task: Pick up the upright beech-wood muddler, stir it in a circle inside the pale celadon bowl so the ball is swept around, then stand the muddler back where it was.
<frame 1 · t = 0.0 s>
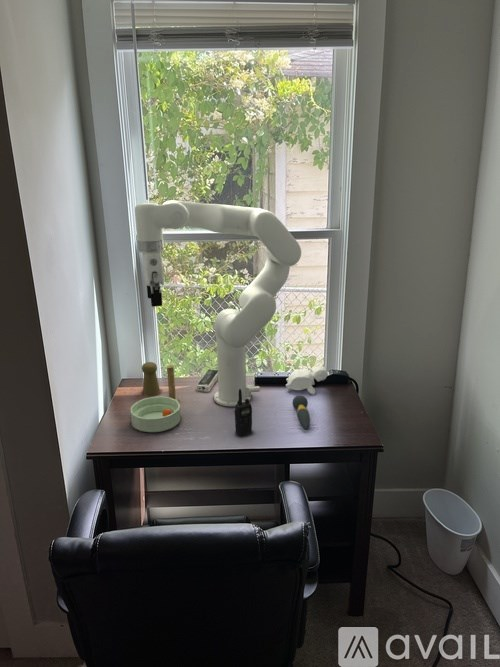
hand: (154, 301, 158), 37 cm above the table, tool pointing down, fingers open, 9 cm apart
dark grey microphone: (303, 417, 163), on the table
cork: (151, 392, 182), on the table
two-way radio: (242, 433, 155), on the table
multiport hub: (208, 383, 189), on the table
ball: (167, 413, 162), point 2 cm above the table, touching bowl
muddler: (172, 401, 175), on the table
white animal figurine: (306, 389, 183), on the table
bowl: (156, 421, 162), on the table
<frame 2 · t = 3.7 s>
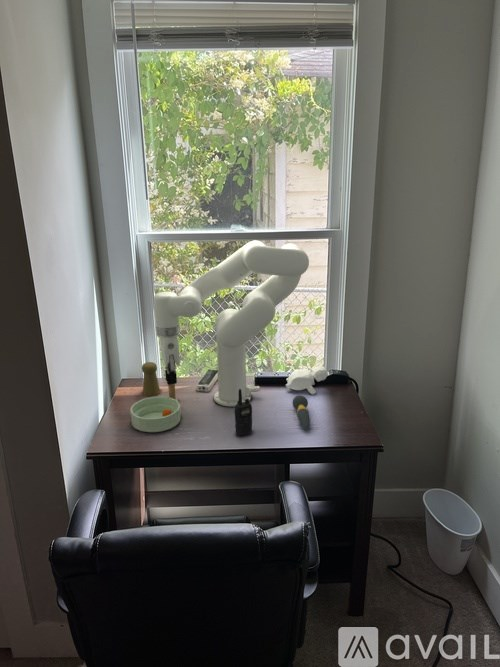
hand: (171, 381, 172), 8 cm above the table, tool pointing down, fingers closed on muddler, 2 cm apart
muddler: (172, 401, 175), on the table, touching gripper
everything else where it was.
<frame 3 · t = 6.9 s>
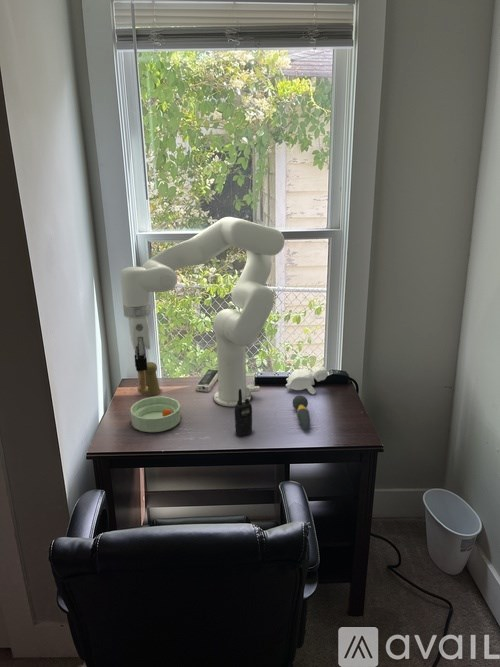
hand: (141, 368, 155), 19 cm above the table, tool pointing down, fingers closed on muddler
muddler: (142, 390, 157), point 11 cm above the table, touching gripper
everything else where it was.
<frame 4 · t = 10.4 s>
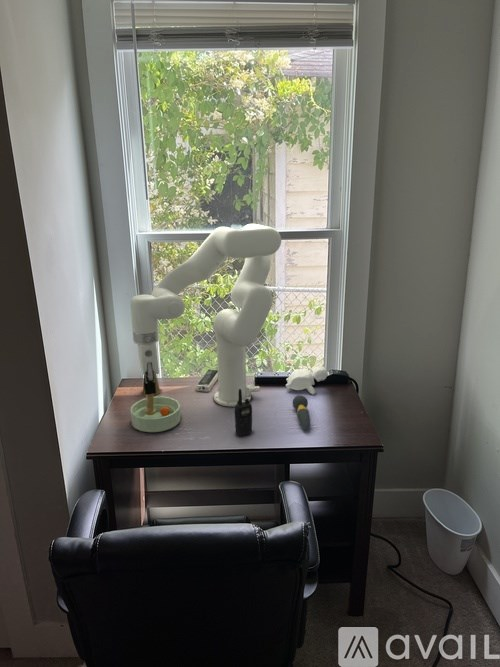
hand: (150, 391, 160), 10 cm above the table, tool pointing down, fingers closed on muddler, 2 cm apart
ball: (165, 411, 163), point 2 cm above the table, tilted 33°, touching bowl
muddler: (150, 413, 162), point 2 cm above the table, touching gripper
everything else where it was.
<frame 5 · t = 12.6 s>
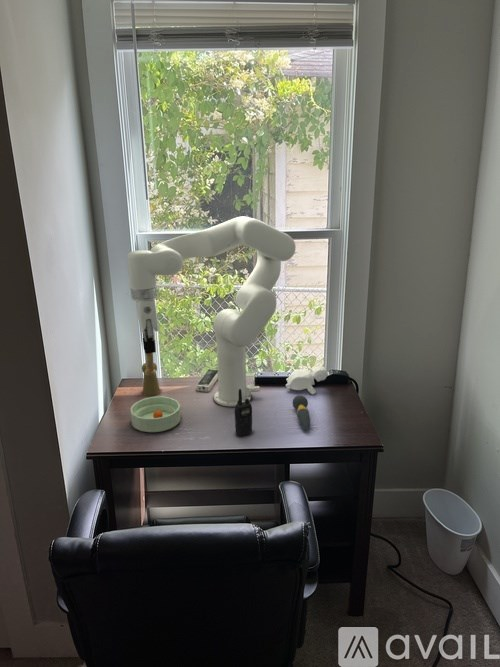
hand: (149, 350, 157), 23 cm above the table, tool pointing down, fingers closed on muddler
ball: (158, 415, 161), point 2 cm above the table, tilted 119°, touching bowl
muddler: (150, 373, 160), point 15 cm above the table, touching gripper
everything else where it was.
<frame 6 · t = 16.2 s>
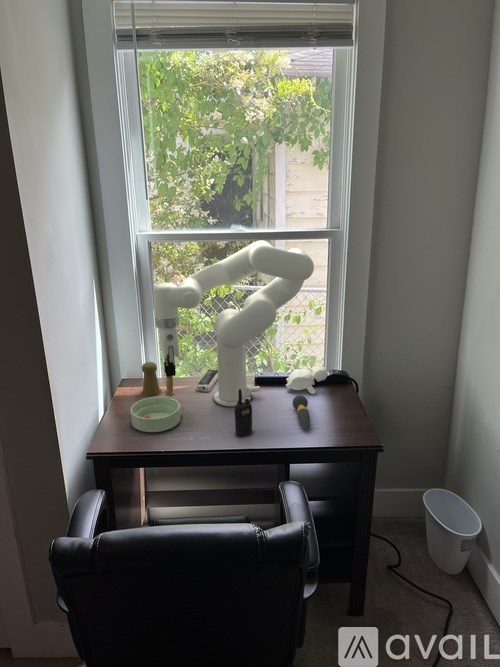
hand: (170, 373, 171), 11 cm above the table, tool pointing down, fingers closed on muddler
ball: (147, 421, 158), point 2 cm above the table, tilted 67°, touching bowl
muddler: (169, 394, 173), point 3 cm above the table, touching gripper
everything else where it was.
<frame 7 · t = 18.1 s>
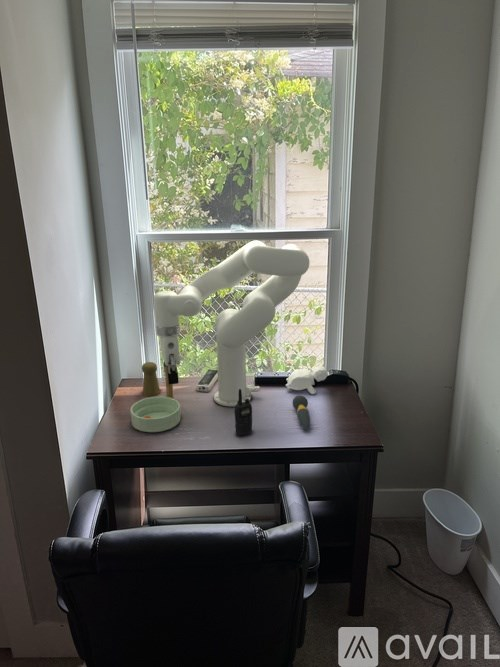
hand: (171, 377, 172), 9 cm above the table, tool pointing down, fingers open, 9 cm apart
muddler: (170, 402, 174), on the table
everything else where it was.
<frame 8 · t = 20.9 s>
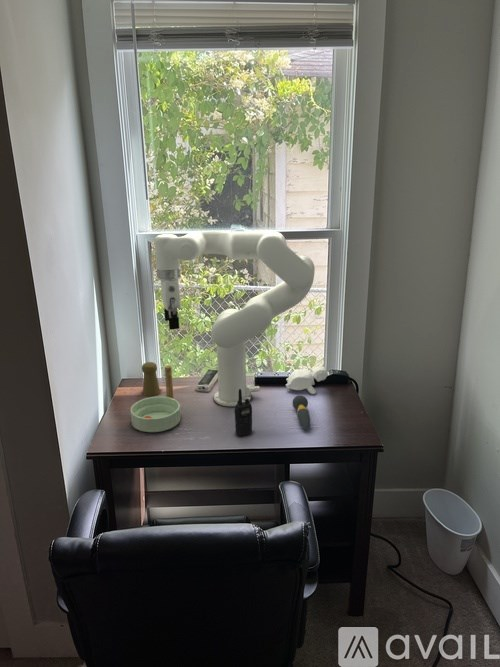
hand: (172, 324, 170), 26 cm above the table, tool pointing down, fingers open, 9 cm apart
ball: (147, 420, 158), point 2 cm above the table, tilted 77°, touching bowl
everything else where it was.
at the end: ball moved 6.8 cm from its start; ball inside the target area in the bowl (3.8 cm from its centre), point 2.1 cm above the bowl's base; muddler tilted 0° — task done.
